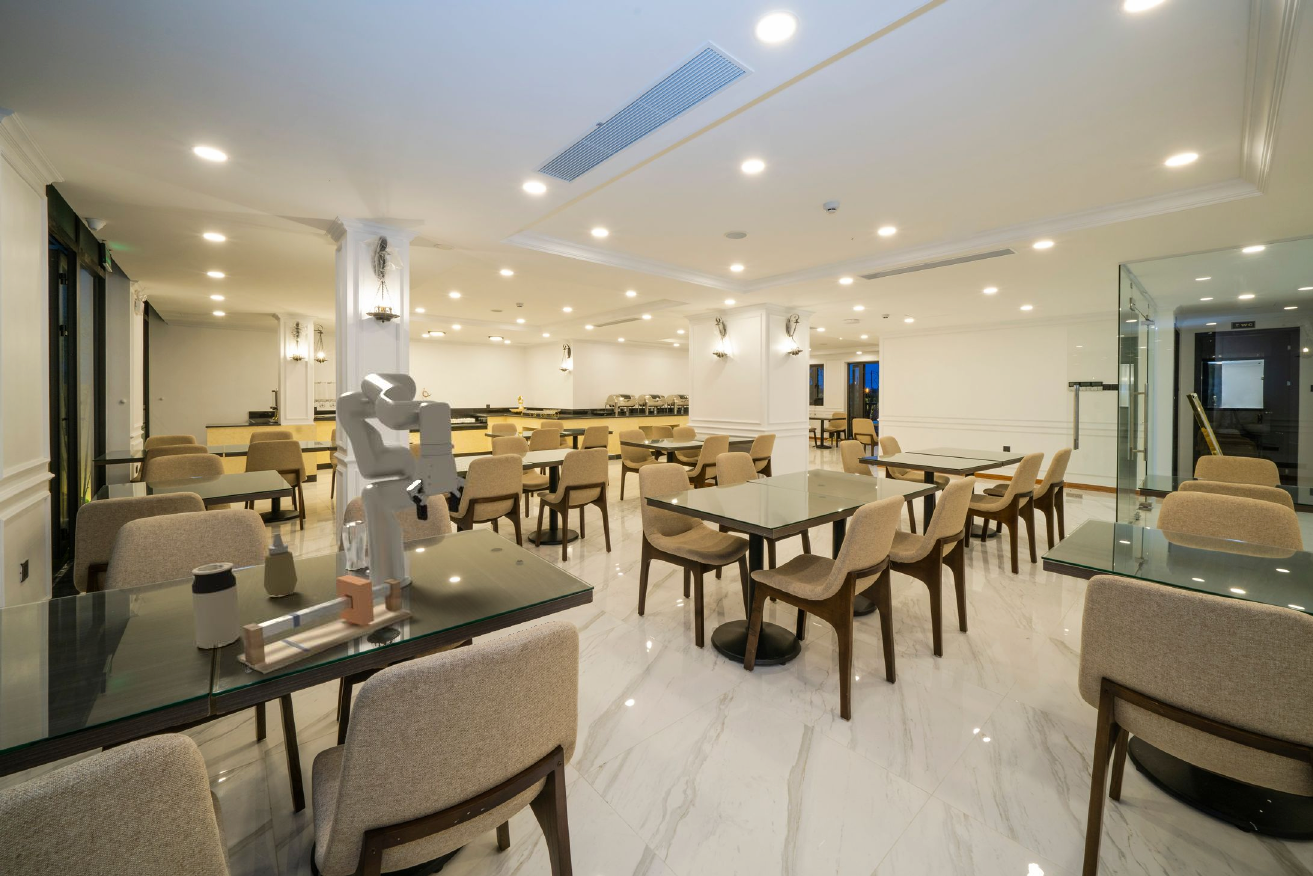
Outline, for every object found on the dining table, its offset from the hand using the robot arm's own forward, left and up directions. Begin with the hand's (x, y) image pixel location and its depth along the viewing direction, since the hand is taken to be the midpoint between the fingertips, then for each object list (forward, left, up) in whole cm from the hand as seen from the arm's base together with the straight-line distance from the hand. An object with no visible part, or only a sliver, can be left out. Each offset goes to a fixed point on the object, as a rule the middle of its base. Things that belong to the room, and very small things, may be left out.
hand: (438, 515), depth 142 cm
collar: (-11, -17, -24) cm, 31 cm away
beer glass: (-57, +10, -26) cm, 64 cm away
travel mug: (-31, -38, -26) cm, 55 cm away
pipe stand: (-11, -23, -26) cm, 36 cm away
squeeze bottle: (-52, -15, -26) cm, 60 cm away
